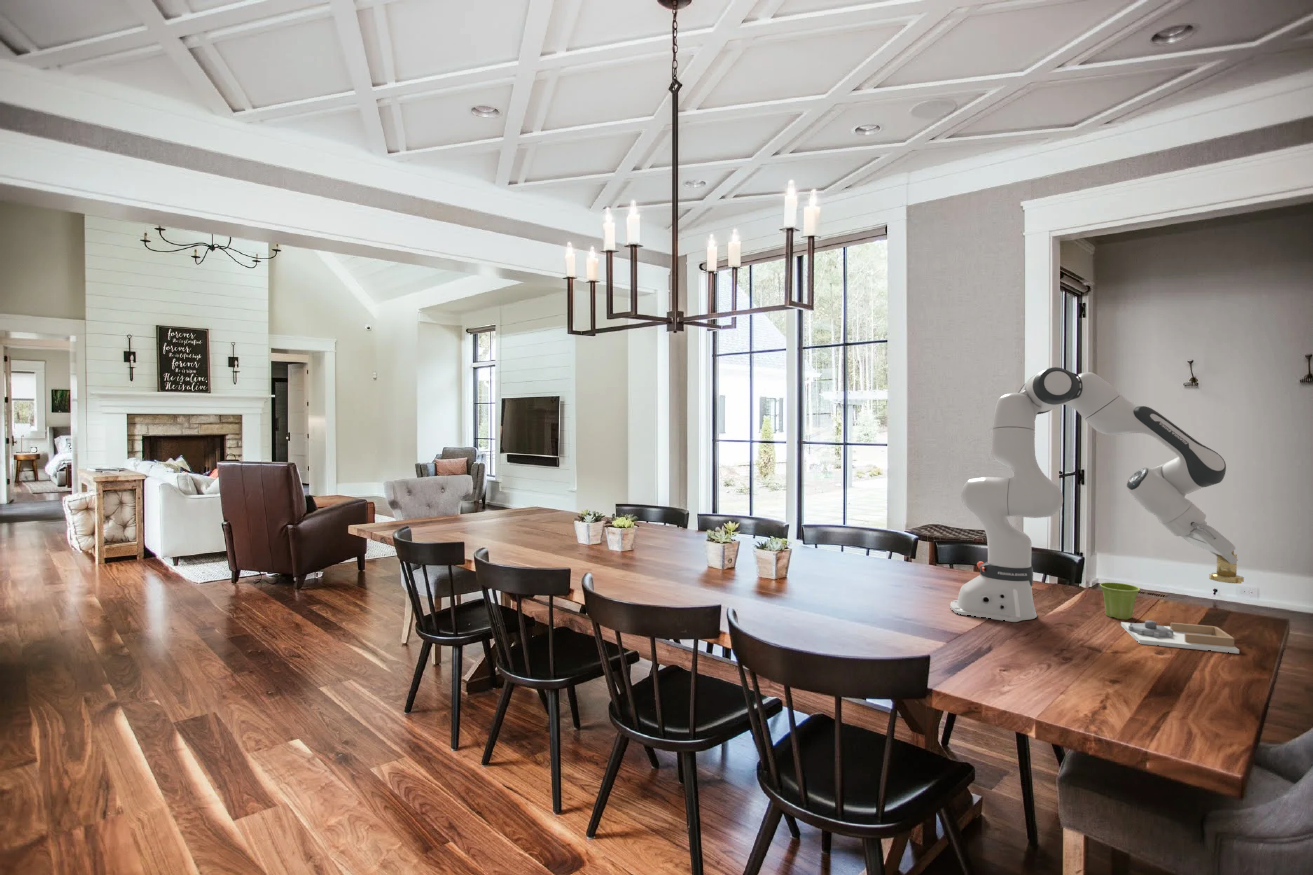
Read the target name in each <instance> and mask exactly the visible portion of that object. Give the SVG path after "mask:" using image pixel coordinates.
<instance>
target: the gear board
mask: <svg viewBox="0 0 1313 875" xmlns="http://www.w3.org/2000/svg"><path fill="white" fill-rule="evenodd" d="M1120 626H1121V628H1123V629H1124V630H1125V631H1126V632H1127V633H1128V634H1129V635H1130V636H1131V637H1132V639H1134V640H1135V641H1136V642H1137V641H1138V642H1137V643H1138V644H1139V643H1140V645H1149V646H1157V645H1159V647H1168V648H1169V647H1170V648H1181V649H1191V650H1200V651H1208V650H1211V651H1210V652H1221V653H1228V652H1229V653H1231V654H1240V649H1239V648H1237V646H1235V637H1233V636H1231V635H1230V634H1228V633H1227V632H1226V631H1224V630H1222V629H1221V628H1220V627H1218V626H1215V625H1214V626H1213V625H1203V624H1191V623H1181V622H1170V626H1169V625H1158V623H1157V621H1155V620H1150V619H1146V620H1144V622H1141V623H1140V622H1136V623H1135V622H1125V621H1121V622H1120ZM1229 653H1228V654H1229Z"/></svg>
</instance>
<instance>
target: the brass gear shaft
mask: <svg viewBox="0 0 1313 875" xmlns="http://www.w3.org/2000/svg"><path fill="white" fill-rule="evenodd" d="M1231 553H1232V555H1233V556H1234V557H1235V558H1237V559H1238V555H1237V554H1235V550H1234V551H1232V552H1231ZM1237 562H1238V561H1237ZM1237 562H1236V563H1234V564H1231V563H1228V562H1227V561H1226V560H1225V559H1224V557H1222V556H1221V555H1219V554H1217V557H1216V572H1212V573H1211V574H1208V575H1209V576H1208V577H1209V578H1208V579H1209V580H1212V581H1214V582H1219V583H1227V584H1242V583H1244V580H1245V579H1244V578H1245V577H1243V576H1241V575H1238V574H1237V568H1238V567H1237V566H1238V565H1237Z"/></svg>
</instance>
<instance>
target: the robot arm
mask: <svg viewBox="0 0 1313 875" xmlns="http://www.w3.org/2000/svg"><path fill="white" fill-rule="evenodd" d="M1064 405H1065V406H1068V407H1070V408H1072V409H1074V410H1075V411H1077V413H1078V414H1079V415H1080V416H1081V418H1083V420H1085V421H1086V423H1087V424H1089V426H1090V427H1091V428H1092V429H1093V430H1095V431H1096V432H1098V433H1100V434H1103V435H1108V436H1123V435H1128V434H1129V435H1130V434H1143V435H1144V434H1145V435H1148V436H1150V437H1153V438H1154V439H1156V440H1157V441H1158V442H1160V443H1161V444H1162V445H1164V446H1165V447H1166V448H1167V449H1169V450H1170V451H1172V452H1173V453H1174V454H1175V455H1176V456H1177V457H1175V458H1173V459H1171V460H1168V461H1166V462H1163V463H1162V464H1160V465H1158V466H1155V467H1151V468H1149V467H1143V468H1141V469H1139V470H1137V471H1135V472H1134V473H1133V474H1132V475H1131V476H1130V477H1129V479H1128V481H1127V483H1126V488H1127V491H1128V492H1129V494H1130V495H1131V496H1132V498H1134V500H1136V502H1137V503H1138V504H1139V505H1140V506H1142V507H1143V508H1144V509H1145V511H1147V512H1148V513H1151V514H1153V515H1154V516H1155V517H1156V519H1157V520H1158V521H1159V523H1160V524H1162V525H1163V527H1164V528H1166V529H1167V530H1168V531H1169V532H1170V533H1171V534H1173V536H1175V537H1181V538H1182V539H1184V540H1186V541H1187V542H1188V543H1190V544H1191V545H1193V546H1195V547H1197V548H1198V547H1199V548H1201V549H1203V550H1206V551H1208V552H1210V553H1211V554H1213V556H1215V557H1216V558H1217V554H1219V555H1221V556H1222V557H1224V559H1225V560H1226V561H1227V562H1228V563H1231V564H1234V563H1236V562H1238V557H1237V558H1235V557H1234V556H1233V555H1232V553H1231V552H1232V551H1234V552H1235V550H1236V546H1235V545H1234V544H1233V543H1232V542H1231V541H1230V540H1229V539H1227V537H1225V536H1224V535H1223V534H1221V533H1220V532H1219V531H1218V530H1216V529H1215V528H1214V527H1212V526H1211V525H1208V523H1207V521H1206V518H1207V514H1206V513H1205V512H1203V510H1201V509H1200V508H1199V507H1198V506H1197V505H1196V504H1195V503H1193V502H1192V501H1191V500H1189V499H1188V498H1186V497H1185V496H1186V495H1188V494H1191V493H1194V492H1196V491H1199V490H1201V489H1203V488H1207V487H1210V486H1213V485H1217V484H1220V483H1221V482H1223V480H1224V477H1225V476H1226V471H1227V465H1226V461H1225V460H1224V458H1223V457H1222V456H1221V455H1220V454H1219V453H1218V452H1216V451H1215V450H1213V449H1211V448H1209V447H1208V446H1206V445H1204V444H1202V443H1201V442H1199V441H1197V440H1196V439H1195V438H1194V437H1193V436H1190V435H1189V434H1188V433H1187V432H1186V431H1184V430H1182V428H1180V427H1178V425H1176V424H1175V423H1173V422H1172V421H1171V420H1169V419H1168V418H1167V417H1165V416H1164V415H1162V414H1161V413H1159V411H1157V410H1155V409H1153V408H1152V407H1149V406H1147V405H1145V406H1144V405H1143V406H1142V405H1138V404H1136V403H1134V402H1132V401H1131V400H1128V399H1127V398H1126V397H1124V396H1123V395H1122V394H1121V393H1120V392H1119V391H1118V390H1117V389H1116V388H1115V387H1113V385H1111V384H1110V382H1108V381H1106V380H1105V379H1103V378H1102V377H1100V376H1099V375H1098V374H1096V373H1094V372H1092V371H1091V372H1090V371H1087V372H1081V373H1074V372H1071V371H1069V370H1067V369H1065V368H1062V367H1057V366H1055V367H1053V366H1052V367H1047V368H1045V369H1042V370H1041V371H1039V372H1038V373H1036V374H1035V375H1033V376H1032V377H1030V378H1029V379H1028V380H1027V381H1026V382H1025V384H1023V385H1022V387H1021V388H1020V389H1019V391H1018V392H1010V393H1006V394H1003V395H1002V396H1000V397H999V398H998V399H997V401H996V404H995V407H994V412H993V418H992V428H991V443H990V444H991V446H990V447H991V449H990V453H991V454H990V455H991V457H992V458H993V459H994V460H995V462H997V463H998V464H1001V465H1002V466H1005V467H1007V468H1008V469H1010V470H1012V471H1013V476H1012V477H1002V476H1001V477H1000V476H999V477H996V476H994V477H993V476H983V477H973V478H969V479H968V480H967V481H966V482H965V483H963V484H964V485H963V486H962V488H961V492H960V493H961V494H960V497H961V501H962V503H963V506H964V507H965V509H966V510H968V512H970V513H972V515H974V516H975V517H976V519H978V521H979V523H980V524H981V525H982V527H983V529H984V532H985V536H986V542H987V543H986V544H987V561H986V562H983V561H978V562H977V563H976V566H977V568H978V569H979V575H978V576H975V577H974V578H972V579H970V580H969V581H967V582H965V583H964V584H962V586H961V587H960V589H959V592H958V597H957V599H954V600H952V601H950V603H949V604H950V605H949V608H951V609H950V610H951V611H952V610H953V611H954V612H953V611H952V612H953V613H954V614H957V613H958V614H957V615H960V614H961V615H962V616H967V615H971V616H970V617H974V616H976V617H975V618H981V617H986V618H985V619H988V618H991V619H990V620H996V621H1003V620H1005V622H1011V623H1017V622H1021V621H1026V620H1027V621H1028V620H1033V619H1035V618H1037V617H1038V616H1037V615H1038V614H1037V613H1036V612H1037V610H1036V608H1035V604H1034V599H1033V598H1034V597H1033V589H1032V586H1033V584H1034V567H1033V566H1032V540H1031V538H1030V537H1029V535H1028V534H1026V532H1024V531H1022V530H1021V529H1020V528H1017V527H1014V526H1013V525H1012V524H1010V522H1009V520H1008V517H1019V518H1030V519H1039V518H1040V519H1041V518H1048V517H1054V516H1055V515H1057V514H1058V513H1059V512H1060V510H1061V509H1062V506H1063V503H1064V497H1063V496H1064V495H1063V493H1062V491H1061V488H1060V487H1059V486H1058V485H1057V483H1055V482H1054V481H1053V480H1051V479H1050V478H1048V476H1046V475H1045V473H1044V472H1043V471H1042V469H1041V468H1040V466H1039V463H1038V462H1037V458H1036V457H1037V456H1036V447H1035V446H1036V444H1035V442H1036V441H1035V438H1036V437H1035V436H1036V432H1035V431H1036V418H1037V415H1042V414H1045V413H1049V412H1051V411H1052V410H1055V409H1058V408H1060V407H1061V406H1064Z"/></svg>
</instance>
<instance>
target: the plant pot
mask: <svg viewBox="0 0 1313 875" xmlns="http://www.w3.org/2000/svg"><path fill="white" fill-rule="evenodd" d="M1099 587H1100V588H1101V592H1102V594H1103V603H1104V609H1105V610H1104V612H1105V615H1106V616H1107V617H1109V618H1115V619H1118V620H1130V619H1132V618H1133V615H1134V614H1133V613H1134V609H1135V603H1136V600H1137V599H1136V598H1137V596H1138V595H1139V594H1138V593H1139V591H1140V590H1141V587H1139V586H1136V585H1132V584H1129V583H1121V582H1101V583H1099Z"/></svg>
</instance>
